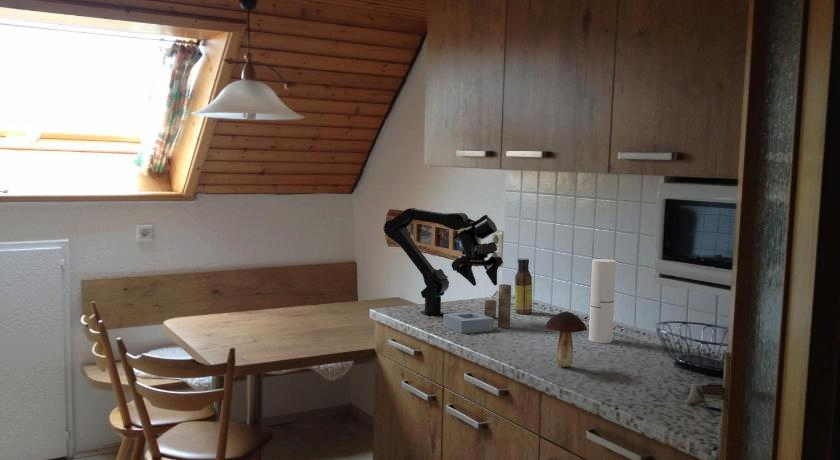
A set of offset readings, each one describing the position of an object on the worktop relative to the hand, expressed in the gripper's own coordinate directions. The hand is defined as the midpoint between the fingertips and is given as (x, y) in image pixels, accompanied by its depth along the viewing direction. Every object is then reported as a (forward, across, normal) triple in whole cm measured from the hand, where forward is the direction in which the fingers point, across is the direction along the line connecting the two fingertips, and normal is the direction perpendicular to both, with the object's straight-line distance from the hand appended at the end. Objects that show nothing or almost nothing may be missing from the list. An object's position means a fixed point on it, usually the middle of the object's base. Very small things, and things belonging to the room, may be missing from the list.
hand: (485, 285), depth 255 cm
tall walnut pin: (+15, +3, +2) cm, 15 cm away
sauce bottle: (+5, +26, +13) cm, 29 cm away
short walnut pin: (+6, +9, +13) cm, 17 cm away
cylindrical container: (+32, +17, -22) cm, 42 cm away
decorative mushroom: (+44, -16, -33) cm, 57 cm away
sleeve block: (+12, -8, +6) cm, 16 cm away
